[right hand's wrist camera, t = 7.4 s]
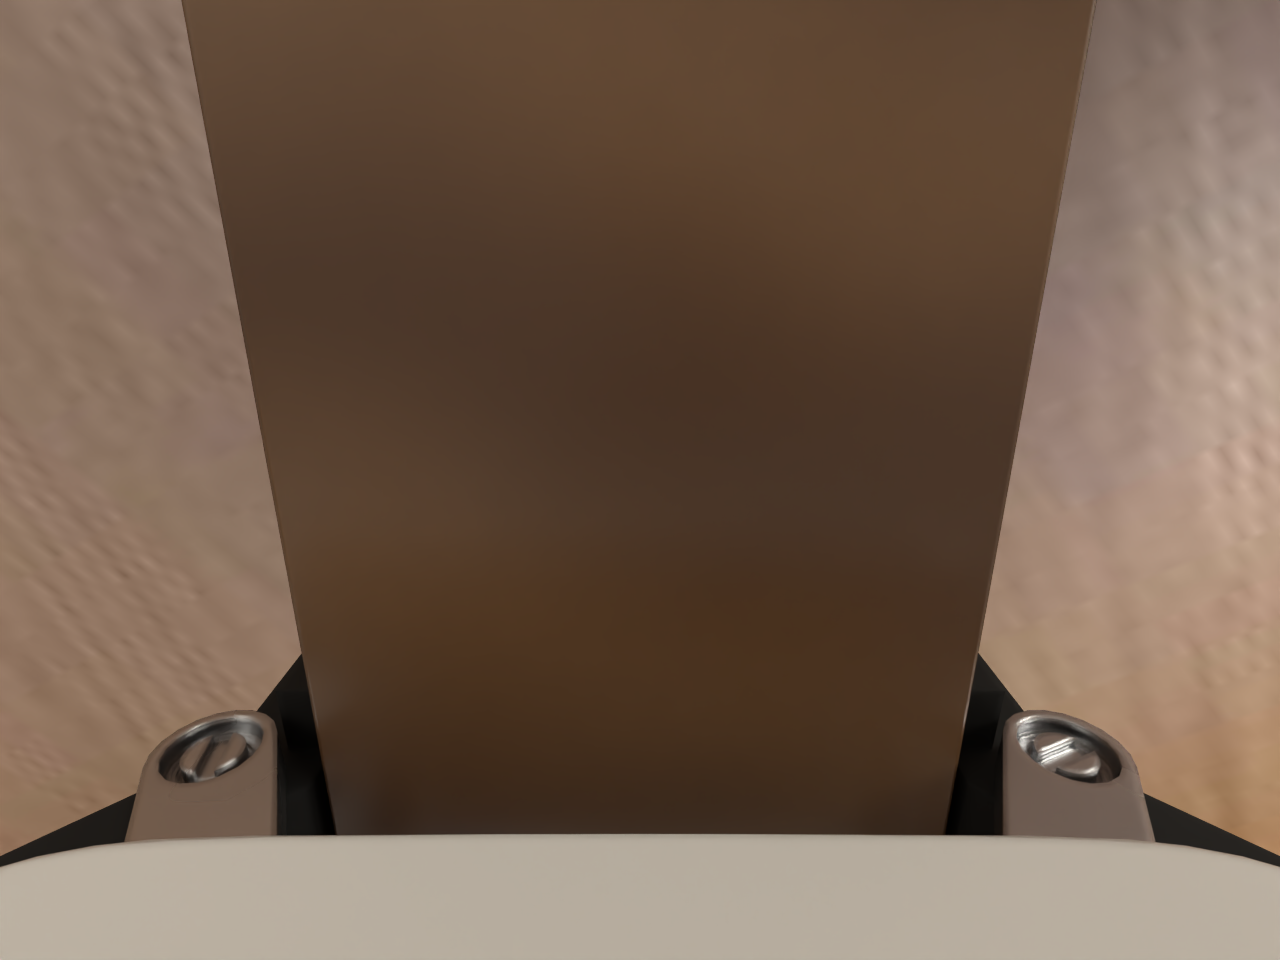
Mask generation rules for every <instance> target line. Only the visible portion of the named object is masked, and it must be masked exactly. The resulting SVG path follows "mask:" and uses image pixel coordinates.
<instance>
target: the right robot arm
mask: <svg viewBox="0 0 1280 960" xmlns="http://www.w3.org/2000/svg"><path fill="white" fill-rule="evenodd" d="M0 960H1280V856H1278V855H1276V854H1274V853H1272V852H1270V851H1268V850H1265V849H1263V848H1261V847H1259V846H1257V845H1255V844H1252V843H1250V842H1248V841H1246V840H1244V839H1242V838H1239V837H1237V836H1235V835H1233V834H1231V833H1229V832H1227V831H1224V830H1222V829H1220V828H1218V827H1216V826H1214V825H1211V824H1209V823H1207V822H1205V821H1203V820H1201V819H1199V818H1196V817H1194V816H1192V815H1190V814H1188V813H1186V812H1183V811H1181V810H1179V809H1177V808H1175V807H1173V806H1170V805H1168V804H1166V803H1164V802H1162V801H1160V800H1158V799H1155V798H1153V797H1151V796H1149V795H1147V794H1145V793H1143V790H1142V786H1141V782H1140V778H1139V774H1138V770H1137V767H1136V765H1135V763H1134V761H1133V759H1132V756H1131V754H1130V753H1129V752H1128V751H1127V750H1126V749H1125V748H1124V747H1123V746H1122V745H1121V744H1120V743H1119V742H1118V741H1117V740H1116V739H1114V738H1113V737H1111V736H1110V735H1109V734H1107V733H1106V732H1104V731H1103V730H1101V729H1099V728H1097V727H1095V726H1093V725H1091V724H1089V723H1087V722H1085V721H1084V720H1081V719H1078V718H1075V717H1072V716H1069V715H1066V714H1063V713H1057V712H1051V711H1046V710H1027V711H1023V710H1022V708H1021V707H1020V706H1019V705H1018V703H1017V702H1016V701H1015V699H1014V698H1013V697H1012V696H1011V694H1010V693H1009V692H1008V690H1007V689H1006V688H1005V687H1004V685H1003V684H1002V683H1001V681H1000V680H999V679H998V678H997V676H996V675H995V674H994V672H993V671H992V670H991V669H990V667H989V666H988V665H987V663H986V662H985V661H984V660H983V658H982V657H981V656H980V655H979V653H978V657H977V662H976V668H975V673H974V679H973V684H972V690H971V695H970V701H969V706H968V712H967V717H966V723H965V728H964V734H963V739H962V745H961V750H960V756H959V761H958V767H957V772H956V778H955V783H954V789H953V794H952V800H951V805H950V811H949V816H948V822H947V827H946V833H945V835H836V834H445V835H335V831H334V825H333V820H332V814H331V809H330V804H329V798H328V793H327V787H326V782H325V776H324V771H323V766H322V760H321V755H320V749H319V744H318V738H317V733H316V728H315V722H314V717H313V711H312V706H311V700H310V695H309V690H308V684H307V679H306V673H305V668H304V662H303V657H302V654H301V655H300V656H299V658H298V659H297V660H296V661H295V663H294V664H293V665H292V667H291V668H290V669H289V670H288V672H287V673H286V674H285V676H284V677H283V678H282V679H281V681H280V682H279V683H278V685H277V686H276V687H275V688H274V690H273V691H272V692H271V694H270V695H269V696H268V697H267V699H266V700H265V701H264V703H263V704H262V705H261V706H260V708H259V709H258V710H257V711H253V710H234V711H228V712H223V713H217V714H214V715H211V716H208V717H205V718H202V719H199V720H196V721H195V722H193V723H191V724H189V725H187V726H185V727H183V728H181V729H179V730H177V731H176V732H174V733H173V734H171V735H170V736H169V737H167V738H166V739H164V740H163V741H162V742H161V743H160V744H159V745H158V746H157V747H156V748H155V749H154V750H153V751H152V752H151V753H150V754H149V756H148V759H147V761H146V763H145V765H144V767H143V770H142V774H141V778H140V782H139V786H138V790H137V793H136V794H134V795H131V796H129V797H127V798H125V799H123V800H121V801H118V802H116V803H114V804H112V805H110V806H108V807H106V808H103V809H101V810H99V811H97V812H95V813H93V814H90V815H88V816H86V817H84V818H82V819H80V820H77V821H75V822H73V823H71V824H69V825H67V826H65V827H62V828H60V829H58V830H56V831H54V832H52V833H49V834H47V835H45V836H43V837H41V838H39V839H36V840H34V841H32V842H30V843H28V844H26V845H24V846H21V847H19V848H17V849H15V850H13V851H11V852H8V853H6V854H4V855H2V856H0Z"/></svg>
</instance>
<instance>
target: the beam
mask: <svg viewBox="0 0 1280 960" xmlns="http://www.w3.org/2000/svg"><path fill="white" fill-rule="evenodd" d="M1096 1H1097V0H182V6H183V11H184V16H185V22H186V27H187V33H188V38H189V44H190V49H191V54H192V60H193V65H194V71H195V76H196V82H197V87H198V92H199V98H200V103H201V109H202V114H203V120H204V125H205V130H206V136H207V141H208V147H209V152H210V158H211V163H212V168H213V174H214V179H215V185H216V190H217V196H218V201H219V206H220V212H221V217H222V223H223V228H224V234H225V239H226V244H227V250H228V255H229V261H230V266H231V272H232V277H233V282H234V288H235V293H236V299H237V304H238V310H239V315H240V320H241V326H242V331H243V337H244V342H245V348H246V353H247V358H248V364H249V369H250V375H251V380H252V386H253V391H254V396H255V402H256V407H257V413H258V418H259V424H260V429H261V434H262V440H263V445H264V451H265V456H266V462H267V467H268V472H269V478H270V483H271V489H272V494H273V500H274V505H275V510H276V516H277V521H278V527H279V532H280V538H281V543H282V548H283V554H284V559H285V565H286V570H287V576H288V581H289V586H290V592H291V597H292V603H293V608H294V614H295V619H296V624H297V630H298V635H299V641H300V646H301V652H302V657H303V662H304V668H305V673H306V679H307V684H308V690H309V695H310V700H311V706H312V711H313V717H314V722H315V728H316V733H317V738H318V744H319V749H320V755H321V760H322V766H323V771H324V776H325V782H326V787H327V793H328V798H329V804H330V809H331V814H332V820H333V825H334V831H335V835H445V834H836V835H945V833H946V827H947V822H948V816H949V811H950V805H951V800H952V794H953V789H954V783H955V778H956V772H957V767H958V761H959V756H960V750H961V745H962V739H963V734H964V728H965V723H966V717H967V712H968V706H969V701H970V695H971V690H972V684H973V679H974V673H975V668H976V662H977V657H978V651H979V646H980V640H981V635H982V629H983V624H984V618H985V612H986V607H987V601H988V596H989V590H990V585H991V579H992V574H993V568H994V563H995V557H996V552H997V546H998V541H999V535H1000V530H1001V524H1002V519H1003V513H1004V508H1005V502H1006V497H1007V491H1008V486H1009V480H1010V475H1011V469H1012V464H1013V458H1014V453H1015V447H1016V442H1017V436H1018V431H1019V425H1020V420H1021V414H1022V409H1023V403H1024V398H1025V392H1026V387H1027V381H1028V376H1029V370H1030V365H1031V359H1032V354H1033V348H1034V343H1035V337H1036V332H1037V326H1038V321H1039V315H1040V310H1041V304H1042V299H1043V293H1044V288H1045V282H1046V277H1047V271H1048V266H1049V260H1050V255H1051V249H1052V244H1053V238H1054V233H1055V227H1056V221H1057V216H1058V210H1059V205H1060V199H1061V194H1062V188H1063V183H1064V177H1065V172H1066V166H1067V161H1068V155H1069V150H1070V144H1071V139H1072V133H1073V128H1074V122H1075V117H1076V111H1077V106H1078V100H1079V95H1080V89H1081V84H1082V78H1083V73H1084V67H1085V62H1086V56H1087V51H1088V45H1089V40H1090V34H1091V29H1092V23H1093V18H1094V12H1095V7H1096Z"/></svg>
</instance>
